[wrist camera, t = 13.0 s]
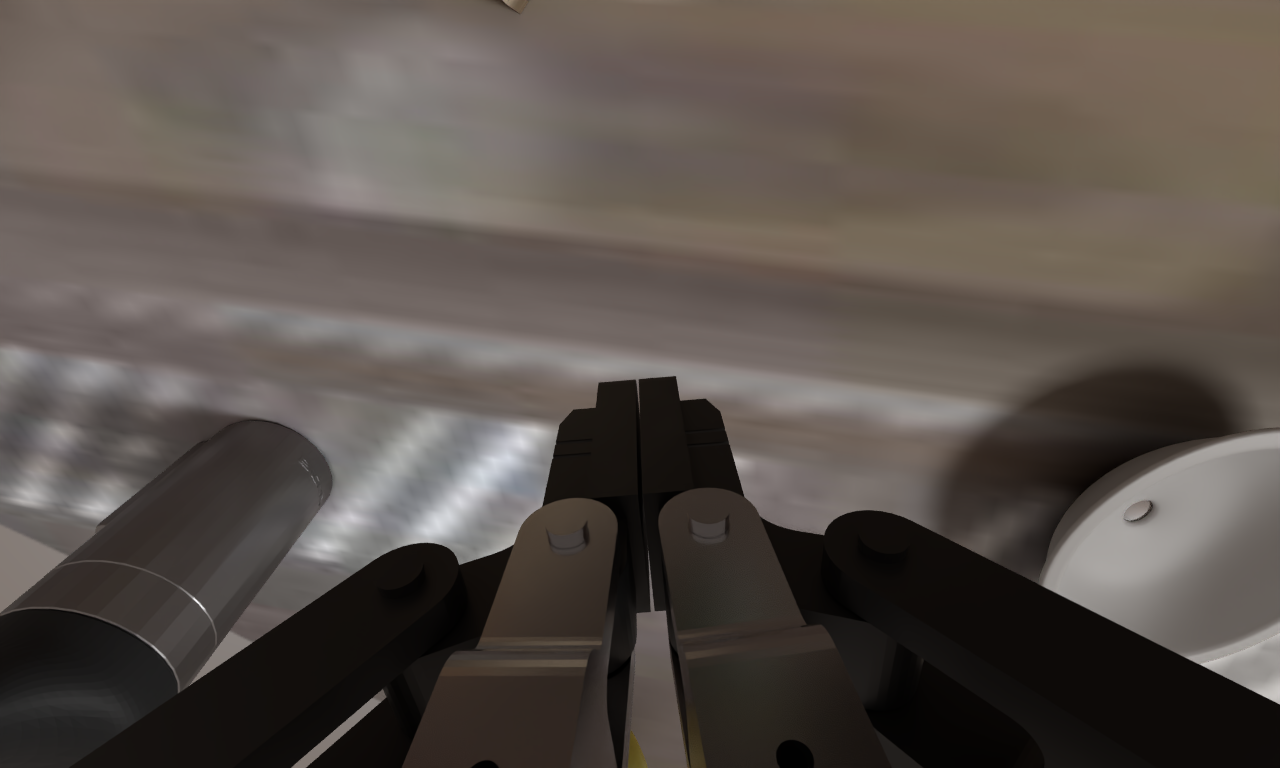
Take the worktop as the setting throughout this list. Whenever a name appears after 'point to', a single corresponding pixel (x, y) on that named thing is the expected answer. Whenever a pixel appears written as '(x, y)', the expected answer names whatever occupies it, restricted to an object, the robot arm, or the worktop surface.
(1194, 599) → the soup bowl
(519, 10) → the birch chute
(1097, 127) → the worktop surface
